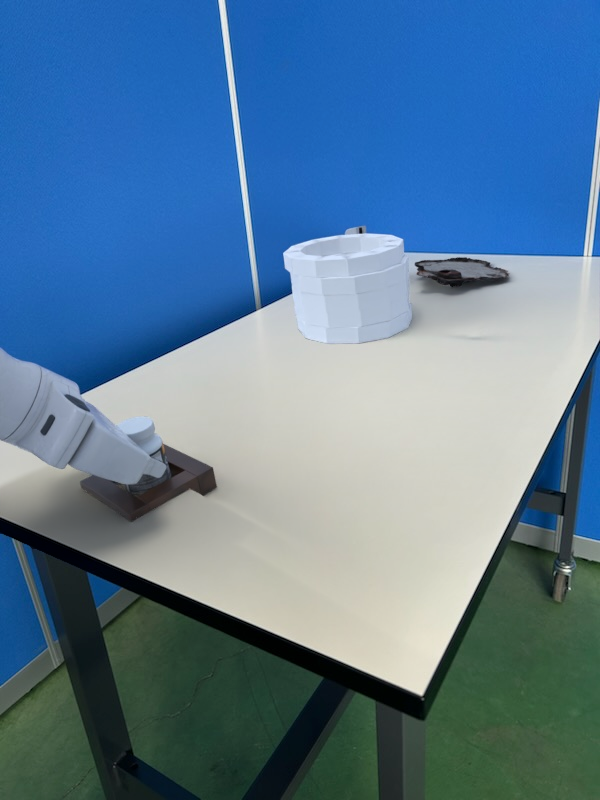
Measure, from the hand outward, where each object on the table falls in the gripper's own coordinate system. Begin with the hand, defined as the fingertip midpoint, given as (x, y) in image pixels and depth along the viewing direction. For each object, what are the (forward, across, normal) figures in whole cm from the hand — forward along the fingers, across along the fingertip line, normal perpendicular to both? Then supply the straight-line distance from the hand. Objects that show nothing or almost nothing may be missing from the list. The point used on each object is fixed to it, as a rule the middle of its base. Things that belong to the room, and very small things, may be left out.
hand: (146, 456), depth 77 cm
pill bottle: (+4, 0, -4) cm, 6 cm away
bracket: (+59, -50, +51) cm, 93 cm away
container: (+45, -31, +37) cm, 66 cm away
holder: (+3, 0, -4) cm, 5 cm away
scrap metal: (+72, -34, +64) cm, 102 cm away
